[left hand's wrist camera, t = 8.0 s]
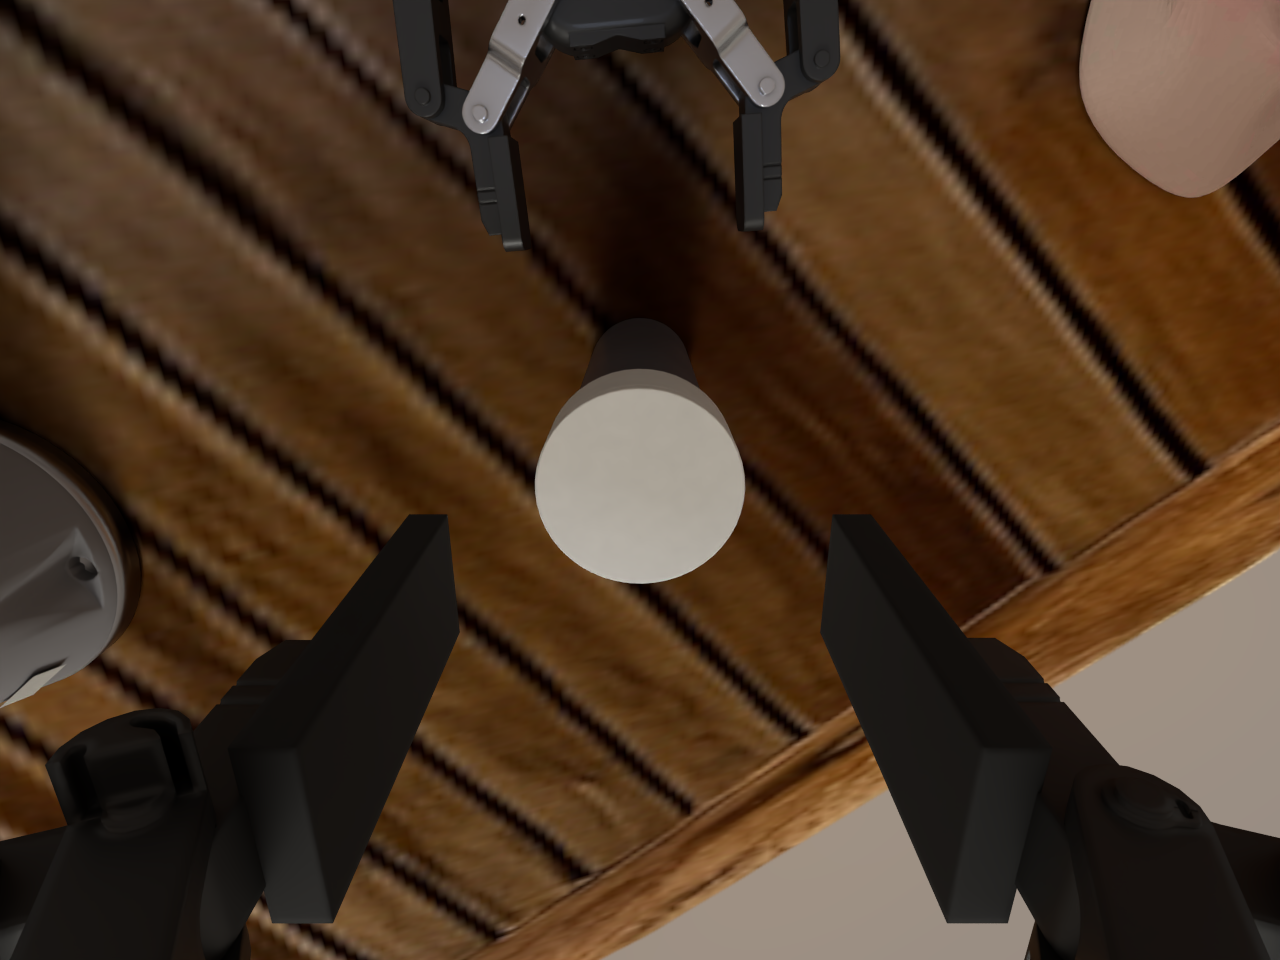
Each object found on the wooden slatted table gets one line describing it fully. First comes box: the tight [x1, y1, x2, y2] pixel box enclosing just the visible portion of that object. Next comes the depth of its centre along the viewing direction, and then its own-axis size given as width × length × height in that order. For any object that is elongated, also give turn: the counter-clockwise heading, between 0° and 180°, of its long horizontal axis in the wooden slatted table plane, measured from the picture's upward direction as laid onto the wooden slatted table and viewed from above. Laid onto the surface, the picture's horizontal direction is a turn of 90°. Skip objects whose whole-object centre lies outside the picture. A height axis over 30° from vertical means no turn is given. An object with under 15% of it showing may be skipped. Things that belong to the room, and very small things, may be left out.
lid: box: [535, 369, 745, 583], centre depth 20 cm, size 6×6×2 cm
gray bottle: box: [580, 318, 700, 389], centre depth 27 cm, size 5×5×16 cm
